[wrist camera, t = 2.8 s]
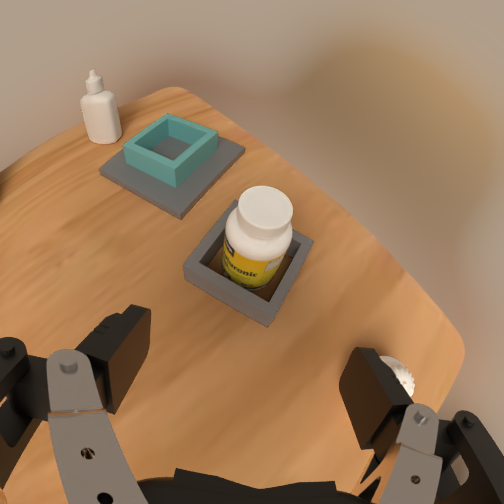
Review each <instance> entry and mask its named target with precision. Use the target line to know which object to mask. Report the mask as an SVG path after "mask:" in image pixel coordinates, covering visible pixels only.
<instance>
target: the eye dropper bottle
mask: <svg viewBox="0 0 504 504" xmlns="http://www.w3.org/2000/svg"><path fill="white" fill-rule="evenodd" d="M85 83H86V89H87V94H85V95H84V96H83V97H82V98H81V100H80V105H81V110H82V114H83V118H84V122H85V126H86V129H87V133H88V137H89V139H90V140H91V141H92V142H94V143H97V144H112V143H115V142H116V141H117V140H118V139H119V138H120V137H121V136H122V130H121V124H120V119H119V113H118V107H117V102H116V97H115V95H114V94H113V93H112V92H110V91H108V90H106V89H104V85H103V79H102V76H101V75H97V74H96V71H95V69H92V70H90V76H89V78H88V79H87V80H86V81H85Z"/></svg>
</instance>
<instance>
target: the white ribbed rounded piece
mask: <svg viewBox="0 0 504 504" xmlns="http://www.w3.org/2000/svg"><path fill="white" fill-rule="evenodd" d="M379 357H380V358H381V360H382V361H383V362H385V363H386V364H387V365H388V366H389V367H391V369H392V370H393V372H394V373H395V375H396V377H397V378H398V379H399V381H400V382H401V383H400V384H402V385H403V387H404V388H405V390H406V391H407V393H408V394H409V396H410V398H411V396H412V395H413V393H414V389H413V388H414V387H415V383H414V382H413V381H414V377H412V376H411V375H412V372H408V369H407V367H405V366H404V365H403V364H402V363H401V362H400V361H399V360H397V359H395V358H393V357H390V356H379Z"/></svg>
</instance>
